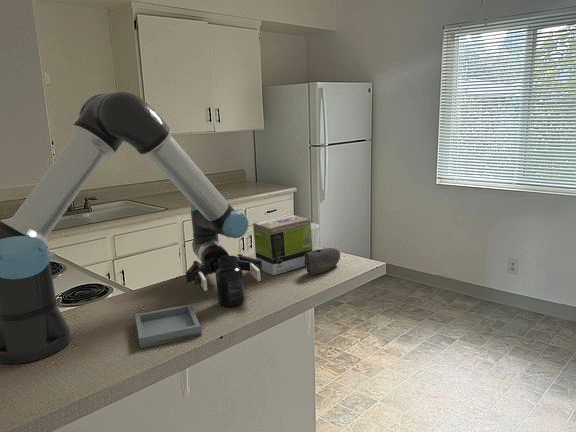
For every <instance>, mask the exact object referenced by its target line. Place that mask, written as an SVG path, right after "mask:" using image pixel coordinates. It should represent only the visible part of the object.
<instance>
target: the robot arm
mask: <svg viewBox="0 0 576 432" xmlns="http://www.w3.org/2000/svg"><path fill="white" fill-rule="evenodd" d="M154 109H155V108H152V106H151V105H150V104H149V103H147V102H146V101H145V100H144V99H143V98H141V97H140V96H138V95H136V94H134V93H133V92H129V91H116V92H109V93H108V92H105V93H98V94H95V95H94V96H91V97H89V98H88V99H87V100H85V101H84V102H83V104H82V105H81V107H80V109H79V112H78V113H79V114H78V118H77V119H76V121H75V122H74V123H73V124H72V126H71V129H72V133H73V136H72V137H71V139H70V140H69V141H68V143H67V144H66V146H64V148H63V149H62V151H61V152H60V153H59V155H58V156H57V158H55V160H54V162H52V164H51V165H50V167H49V168H48V169H47V171H46V172H45V173H44V175H43V176H42V177H41V178H40V180H39V181H38V183H37V184H36V185H35V186H34V188H33V189H32V190H31V192H30V193H29V194H28V196H27V197H26V199H25V200H24V201H23V202H22V204H21V206H20V207H19V208H18V209H17V211H16V212H15V213H14V215H13V216H12V217H8V218H3V219H1V220H0V364H5V365H18V364H19V365H21V364H26V363H31V362H35V361H37V360H41V359H44V358H47V357H49V356H52V355H53V354H56V353H58V352H60V351H61V350H63V349H64V348H65V347H67V346H68V344H69V343H70V342H71V341H72V340H71V339H72V332H71V329H70V326H69V324H68V322H67V320H66V319H65V317H64V315H63V314H62V312H61V310H60V308H59V307H58V304H57V296H56V292H55V290H56V289H55V285H54V279H53V273H52V267H51V261H50V259H51V256H50V252H49V250H48V248H49V247H50V245H49V240H48V237H49V235H50V233H51V232H52V231H53V229H54V228H55V226H56V225H57V223H58V222H59V221H60V220H61V218H62V217H63V215H64V214H65V213H66V211H67V210H68V209H69V207H70V206H71V204H72V203H73V202H74V200H75V199H76V198H77V196H78V194H79V193H80V192H81V190H82V189H83V187H84V186H85V184H87V182H88V180H89V179H90V177H91V176H92V175H93V173H94V172H95V171H96V169H97V168H98V167H99V165H100V164H101V163H102V161H103V159H104V158H105V157H109V156H110V157H111V156H114V155H115V154H116V153H117V151H118V149H120V147H121V145H122V144H123V143H124V142H125V143H127V144H128V145H130V146H131V147H133V148H134V150H135V151H137V152H138V153H139V154H140V155H142V156H147V157H148V158H149V159H150V160H151V161H152V162H153V163H154V165H155V166H156V167H157V168H158V169H159V170H160V171H161V172H162V173H163V174H164V175H165V176H166V177H167V178H168V179H169V181H170V182H172V184H173V185H174V187H176V188H177V189H178V190H179V192H181V193H182V194H183V195H184V197H185V198H186V199H187V200H188V201H189V202H190V217H191V225H192V234H193V236H192V239H193V240H192V243H191V247H192V251H193V253H194V255H196V257H197V259H198V260H200V261H198V260H194V261H192V263H193V264H192V265H191V266H190V267H189V268H188V270H187V271H186V272H185V277H186V282H187V283H191V282H192V281H193V283H194V285H200V286H201V287H202V289H203V291H208V282H207V281H208V280H207V278H206V277H207V276H208V275H212V274H216V271H217V270H218V269H219V268H220V267H219V266H218V264H219V263H218V259H219V258H220V257H223V256H230V254H229V253H228V251H227V250H226V249H225V248H224V247H223V246H222V245H221V244H220V242H219V240H220V239H219V235H221V236H224V237H226V238H232V239H239V238H242V237H243V236H245V234H246V233H247V231H248V228H249V219H248V217H247V214H245V213H244V212H241V211H239V210H235V209H234V208H233V206H232V205H231V204H230V203H229V202H228V201H227V199H225V197H224V196H223V194H221V192H220V191H219V190H218V189H217V188H216V186H214V184H213V183H212V182H211V181H210V180H209V178H208V177H207V176H206V175H205V174H204V173H203V172H202V170H201V169H200V168H199V167H198V166H197V165H196V163H195V162H194V161H193V160H192V159H191V158H190V156H189V155H188V154H187V153H186V151H185V149H183V148H182V147H181V146H180V145H179V143H177V141H176V140H175V138H173V136H172V135H171V133H172V130H171V127H170V126H169V125H168V124H167V123H166V122H165V120H164V119H163V118H162V117H161V116H160V115H159V114H158V113H157V112H156V110H154ZM236 257H237V259H238V265H237V266H239V267H240V268H241V269H242V271H244V272H249V273H250V275H251V276H253V278H254V279H255V280H256V281H257V282H260V281H261V279H262V278H261V271H263V270H262V261H261V260H258V259H256V258H253V257H250V256H245V255H243V254H242V253H240V254H237V256H236Z"/></svg>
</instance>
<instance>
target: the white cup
mask: <svg viewBox="0 0 576 432" xmlns="http://www.w3.org/2000/svg"><path fill="white" fill-rule="evenodd" d="M311 237H312V251H315V250H318V249H319V244H320V224H318V223H314V222H311Z"/></svg>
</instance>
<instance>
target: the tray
mask: <svg viewBox="0 0 576 432" xmlns="http://www.w3.org/2000/svg"><path fill="white" fill-rule="evenodd" d="M134 316H135V324H136V331H137V338H138V343H139V348H140V349H145V348H149V347H155V346H158V345H163V344H169V343H175V342H177V341H182V340H187V339H192V338H196V337H197V338H198V337H201V336H203V335H202V325H201V324H200V321H199V320H198V317H197V315H196V313H195V310H194V308H193V306H192V304H185V305H180V306H176V307H169V308H163V309H159V310H153V311H147V312H142V313H137V314H134Z"/></svg>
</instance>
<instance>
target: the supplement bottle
mask: <svg viewBox="0 0 576 432" xmlns="http://www.w3.org/2000/svg"><path fill="white" fill-rule="evenodd" d="M218 263H219V264H218V266H219V267H220V268H219V269H218V270H217V271H216V273H215V281H216V282H215V283H216V291H217V292H216V293H217V302H218V305H219V307H222V308H228V309H230V308H231V309H232V308H236V307H240V306H241V305H243V304H244V303H245V301H246V297H245V294H246V293H245V284H244V283H245V282H244V274H243V271H244V270H242V269H241V268H240V267H239V266H237V265H238V259H237V256H236V255H229V256H223V257H220V258H219V259H218Z"/></svg>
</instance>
